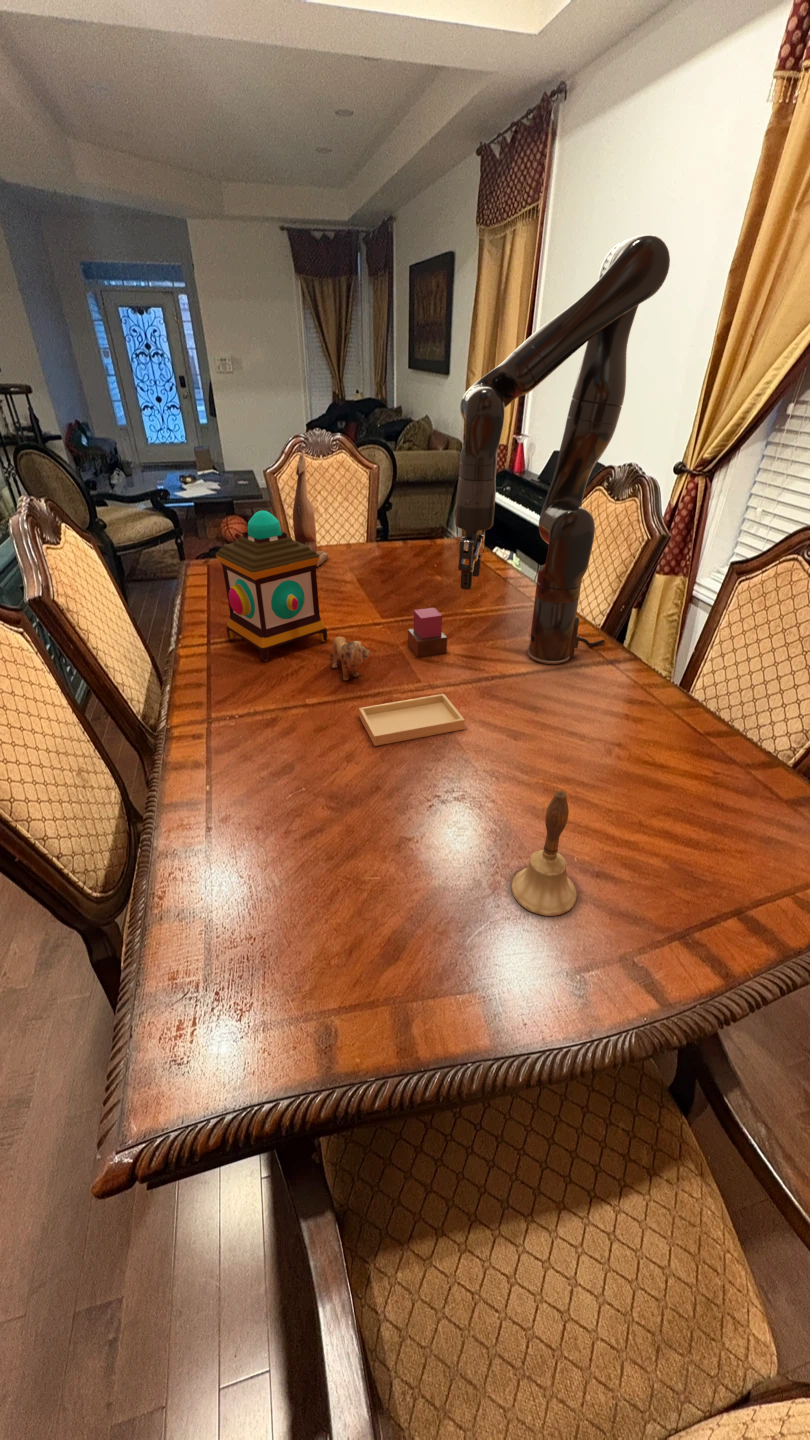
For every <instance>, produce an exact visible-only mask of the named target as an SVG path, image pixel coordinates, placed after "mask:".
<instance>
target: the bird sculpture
mask: <svg viewBox="0 0 810 1440" xmlns="http://www.w3.org/2000/svg"><path fill="white" fill-rule="evenodd" d="M306 463H307V462H306V458H305V455H304V454H300V455H299V457H298V461H297V464H296V472H295V474H296V476H297V479H296V487H295V495H294V500H293V501H294V502H293V507H292V527H293V535H294V541H296V542H299V543H301V544H304V545H306V546H309V547H310V549H312V550H314V551H315V552H316V553H317V554H319V555H320V558H319V561H318V563H317V566H316V568H317V567H319V566H320V565H321V564H323V563H324V562H325V561H326V560H327V559H328V558H329V557H328V553H327V551H325V550H318V544H317V543H318V542H317V528H316V527H317V526H316V517H315V516H316V515H315V510H314V506H313V505H312V502H311V501H310V499H309V497H308V489H307V471H306V469H307V465H306Z"/></svg>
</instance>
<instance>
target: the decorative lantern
mask: <svg viewBox="0 0 810 1440" xmlns="http://www.w3.org/2000/svg"><path fill="white" fill-rule="evenodd" d="M293 539H294V538H292V537H290V536H288V533H286V532H284V531H282V528H281V524H280V521H279V520H278V519H277V517H276V516H274V515H273V514H272V513H271V512H269V511H267V510H259V511H256V512H255V513H253V515H252V517H250V519H249V520H248V521H247V531H245V532H242V536H239V537H238V539H237V540H235V541H233V542H231V543H227V544H224V545H223V546H222V547H221V548H219V549H218V551H216V553H215V556H216V559H217V560H218V561H219V563H220V564H221V567H222V572H223V579H224V584H225V590H226V595H227V596H226V597H227V603H228V609H229V617H228V620H227V623H226V627H225V629H226V633H227V637H228V638H229V639H230V640H234V639H235V638H236V636H238V637H240V638H241V639H243V641H246V642H247V643H249V644H251V645H252V646H254V647H255V648H256V649H257V650H258V651H259V653H260V657H261V659H262V661H263V662H268V660H269V653H270V651H271V650H272V649H275V648H279V647H280V646H285V645H287V644H290V643H293V642H296V641H299V640H302V639H305V638H308V637H312V636H315V635H318V636H319V639H320V642H322V643H324V642H326V641H327V640H328V629H327V626H326V625H325V623H324V622H323V620H322V618H321V615H320V604H319V589H318V578H317V563H318V561H319V558H320V555H319V553H316V552H315V551H314V550H312V549H310V547H309V546H306V545H304V544H301V543H299V542H296V541H295V539H294V540H293Z"/></svg>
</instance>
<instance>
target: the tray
mask: <svg viewBox="0 0 810 1440" xmlns="http://www.w3.org/2000/svg"><path fill="white" fill-rule="evenodd" d="M358 712H359V719H360V721H361V723H362V725H363V726H364V729H365V731H366V732H367V735H368V736H369V739H370V740H371V742H372V745H373V746H374V747H377V746H382V745H383V746H384V745H388V744H392V743H397V742H404V741H410V740H414V739H415V740H416V739H419V738H426V737H430V736H435V735H436V736H437V735H441V734H446V733H452V732H456V731H461V730H465V722H466V721H465V718H464V717H463V716H462V714H461V713H460V712H459V711H458V709H457V708H456V707H455V705H453V703H452V702H451V700H450V699H449V698H448V696H447V695H446V694H445V693H439V694H433V695H428V696H427V695H426V696H421V697H416V698H410V699H403V700H398V701H393V702H392V701H391V702H386V703H380V704H374V705H369V706H363V707H359V708H358Z"/></svg>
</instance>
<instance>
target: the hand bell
mask: <svg viewBox="0 0 810 1440" xmlns="http://www.w3.org/2000/svg"><path fill="white" fill-rule="evenodd" d="M546 807H547V808H546V811H545V819H544V820H545V821H544V823H545V830H546V836H545V837H546V838H545V841H544V845H543V849H539V850H537V851H535V852H533V854H531V857H530V858H529V863H528V865H527V867H524V868H523V869H521V870H519V872H517V873H516V874H515V875H514V877H513V879H512V881H511V892H512V895H513V897H514V898H515V900H516V901H517V902H518V904H519V905H521V907H523V908H524V909H525V910H527V911H529V912H531V913H533V914H536V915H541V916H548V917H551V916H552V917H553V916H554V917H555V916H559V915H562V914H565V913H567V912H569V911H570V910H571V909H572V908H573V907H574V906H575V904H576V901H577V897H578V895H577V890H576V886H575V884H574V883H573V881H572V880H571V878H570V877H569V876H568V875H567V861H566V859H565V858H564V857H563V855H562V854H560V853H559V852H558V851H559V843H560V837H561V835H562V833H563V831H564V829H566V826H567V822H568V819H569V814H570V813H569V804H568V800H567V793H565V792H564V791H562V790H557V791H555V793H554V796H553V797H552V799H551V800H550V802H549V803H548V805H547V806H546Z"/></svg>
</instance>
